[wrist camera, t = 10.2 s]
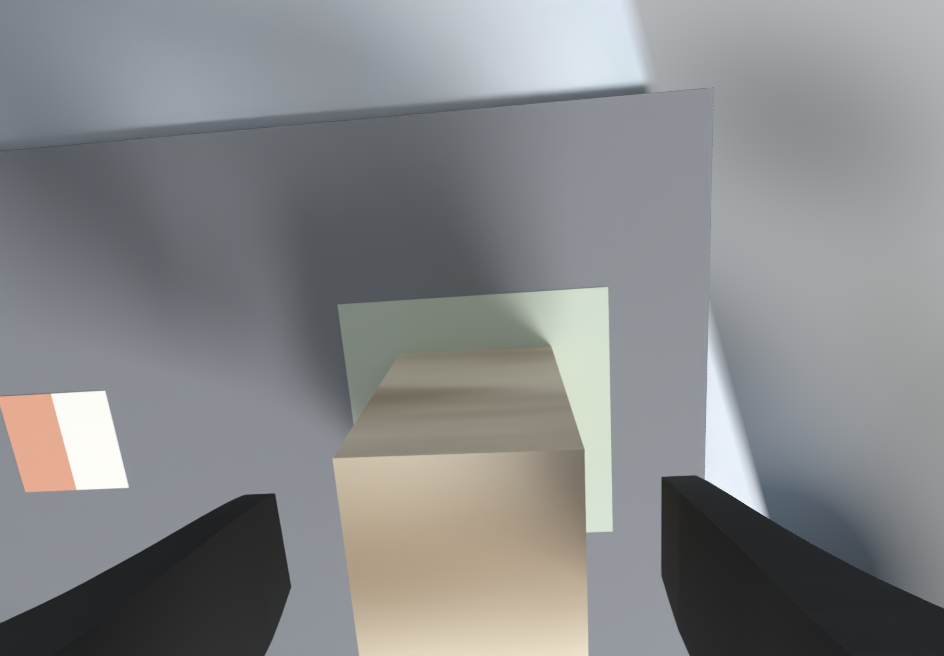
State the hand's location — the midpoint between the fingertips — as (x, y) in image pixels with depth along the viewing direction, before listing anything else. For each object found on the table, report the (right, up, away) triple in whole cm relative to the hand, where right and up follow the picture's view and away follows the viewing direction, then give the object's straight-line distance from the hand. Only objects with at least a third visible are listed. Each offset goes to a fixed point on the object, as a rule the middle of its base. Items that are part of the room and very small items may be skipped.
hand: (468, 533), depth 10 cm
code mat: (-6, +1, +6) cm, 8 cm away
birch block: (0, +1, +5) cm, 5 cm away
